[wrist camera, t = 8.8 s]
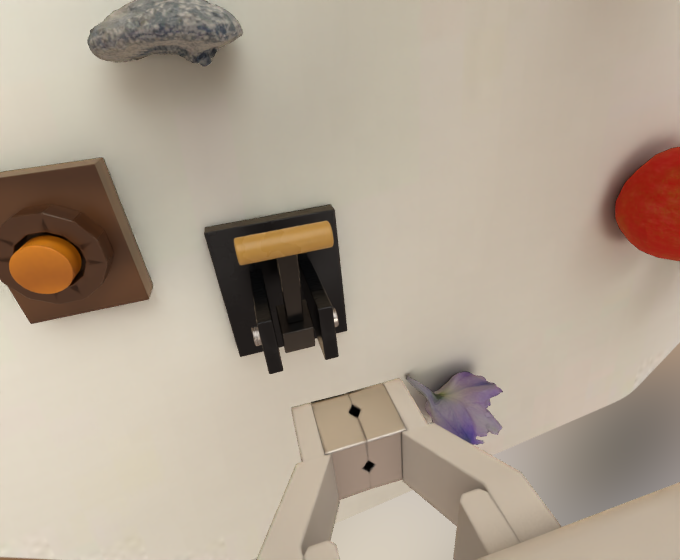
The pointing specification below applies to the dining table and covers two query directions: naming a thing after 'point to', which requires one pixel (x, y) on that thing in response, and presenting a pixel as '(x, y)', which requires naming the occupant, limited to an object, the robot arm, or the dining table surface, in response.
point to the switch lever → (288, 274)
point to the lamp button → (45, 264)
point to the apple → (653, 206)
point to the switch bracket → (278, 285)
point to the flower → (462, 406)
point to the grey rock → (164, 31)
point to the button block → (72, 237)
